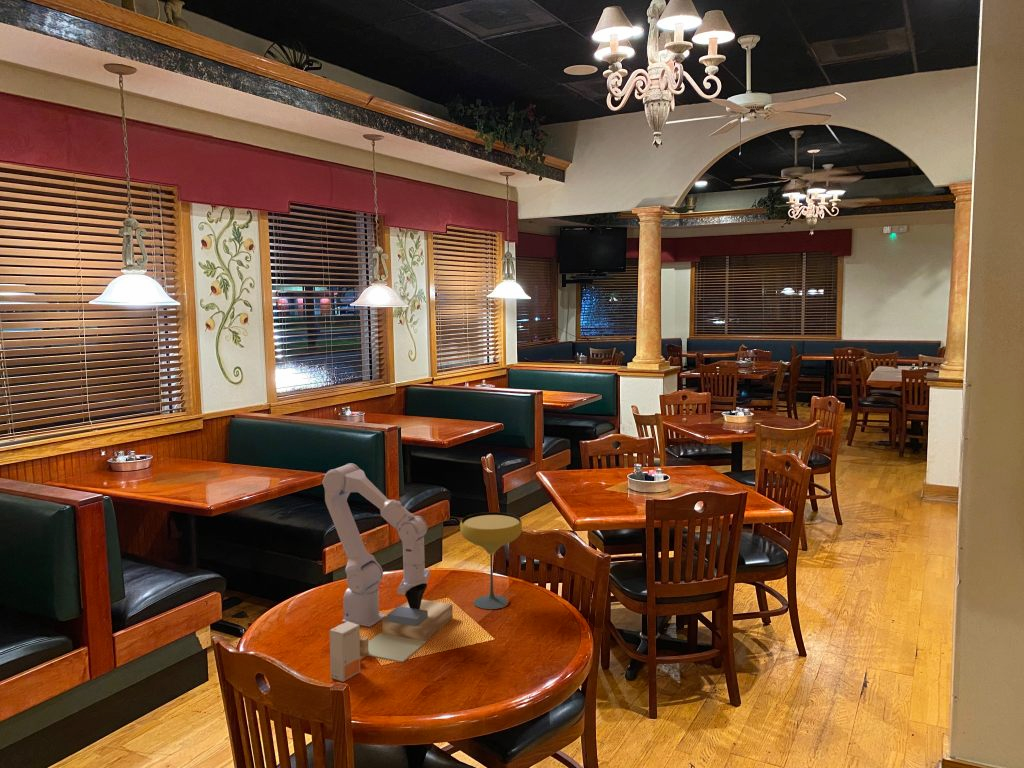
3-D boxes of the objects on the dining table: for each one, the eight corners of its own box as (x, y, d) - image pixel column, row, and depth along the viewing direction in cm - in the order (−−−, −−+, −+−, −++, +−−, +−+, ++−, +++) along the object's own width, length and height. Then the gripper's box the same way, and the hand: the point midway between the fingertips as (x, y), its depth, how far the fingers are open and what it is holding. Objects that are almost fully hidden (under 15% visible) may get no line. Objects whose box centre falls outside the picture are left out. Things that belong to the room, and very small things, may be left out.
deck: (382, 633, 205) (382, 619, 205) (412, 611, 220) (411, 597, 219) (425, 641, 200) (425, 626, 200) (452, 617, 215) (452, 604, 215)
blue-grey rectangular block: (387, 621, 203) (387, 614, 203) (398, 613, 209) (398, 606, 209) (417, 626, 200) (417, 619, 200) (427, 617, 206) (427, 610, 205)
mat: (354, 653, 194) (354, 652, 194) (380, 634, 205) (380, 633, 205) (402, 662, 189) (402, 661, 189) (426, 642, 200) (426, 641, 200)
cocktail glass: (448, 604, 225) (447, 521, 222) (489, 586, 238) (488, 508, 236) (494, 620, 213) (493, 533, 210) (534, 601, 227) (534, 519, 224)
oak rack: (338, 660, 190) (337, 644, 189) (352, 650, 195) (351, 634, 195) (355, 664, 188) (354, 647, 187) (368, 653, 193) (368, 637, 193)
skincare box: (343, 682, 179) (341, 633, 177) (330, 678, 181) (328, 629, 180) (361, 672, 184) (360, 624, 183) (348, 667, 186) (347, 620, 185)
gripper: (413, 573, 198) (414, 623, 200) (439, 555, 212) (440, 603, 213) (390, 569, 201) (391, 619, 202) (416, 553, 214) (417, 599, 216)
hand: (414, 610), depth 208 cm, fingers closed
